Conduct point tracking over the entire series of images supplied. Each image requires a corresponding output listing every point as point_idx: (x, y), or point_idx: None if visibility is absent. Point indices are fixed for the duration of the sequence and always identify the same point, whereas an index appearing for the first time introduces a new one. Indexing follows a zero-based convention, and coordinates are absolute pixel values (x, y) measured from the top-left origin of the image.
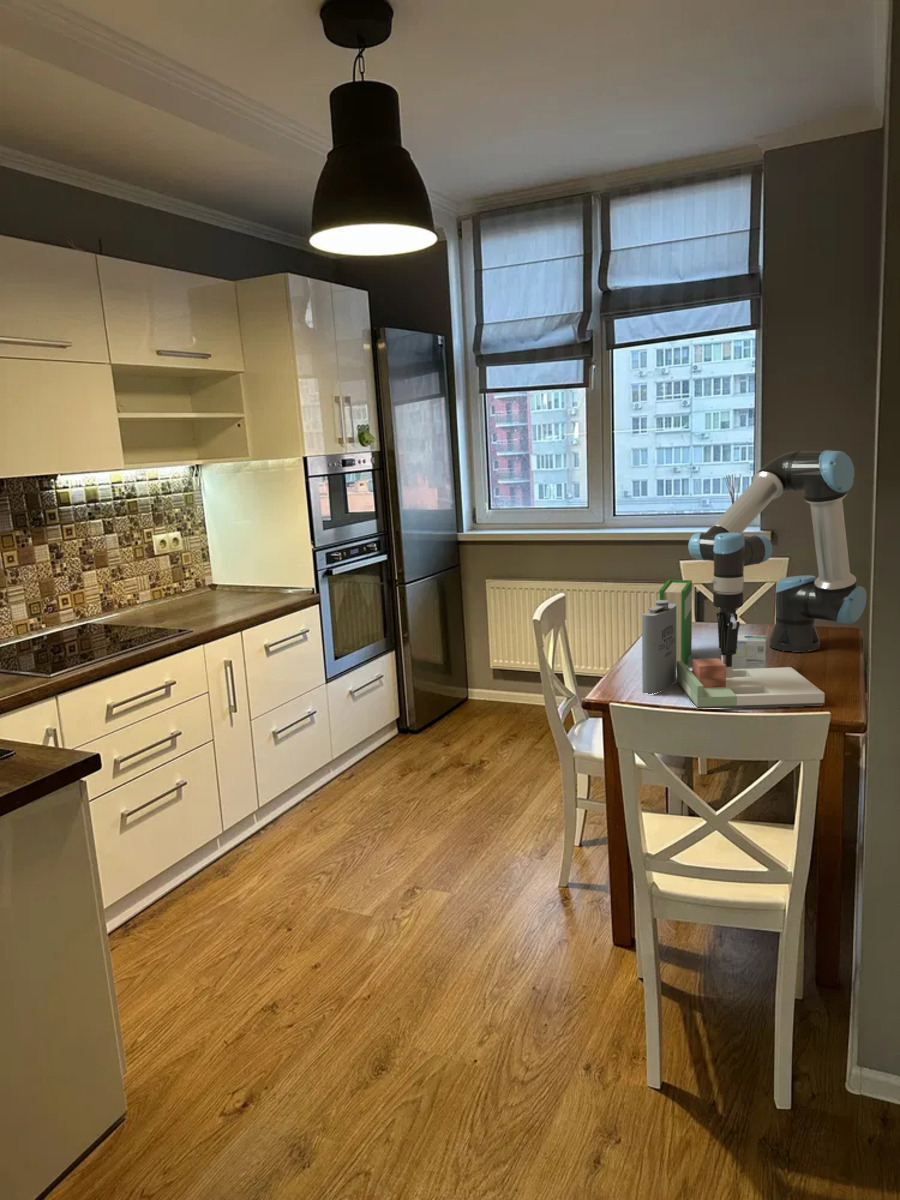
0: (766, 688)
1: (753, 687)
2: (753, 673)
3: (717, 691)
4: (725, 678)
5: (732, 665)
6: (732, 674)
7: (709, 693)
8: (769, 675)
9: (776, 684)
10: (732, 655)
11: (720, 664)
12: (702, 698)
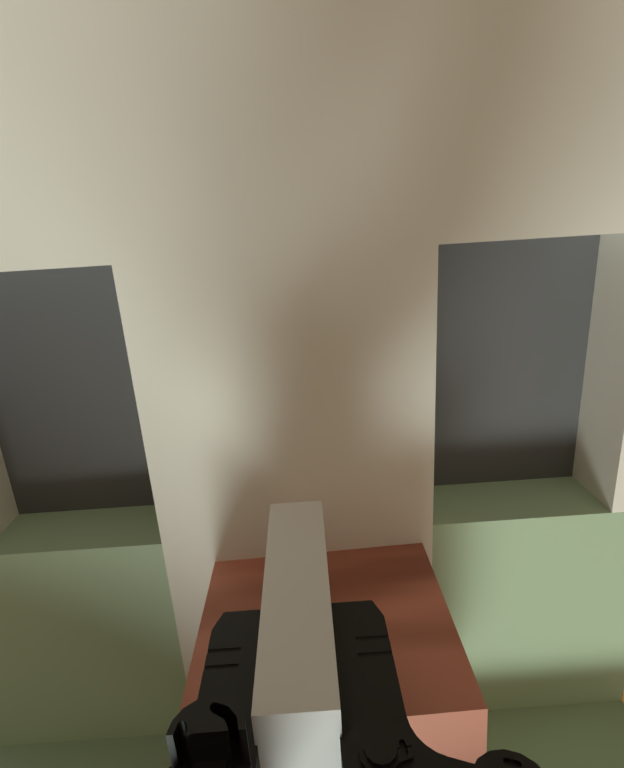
0: (510, 232)
1: (432, 331)
2: (3, 230)
3: (519, 609)
4: (442, 595)
5: (329, 588)
6: (323, 522)
7: (554, 660)
8: (63, 70)
9: (398, 90)
10: (338, 702)
11: (443, 751)
12: (616, 697)
